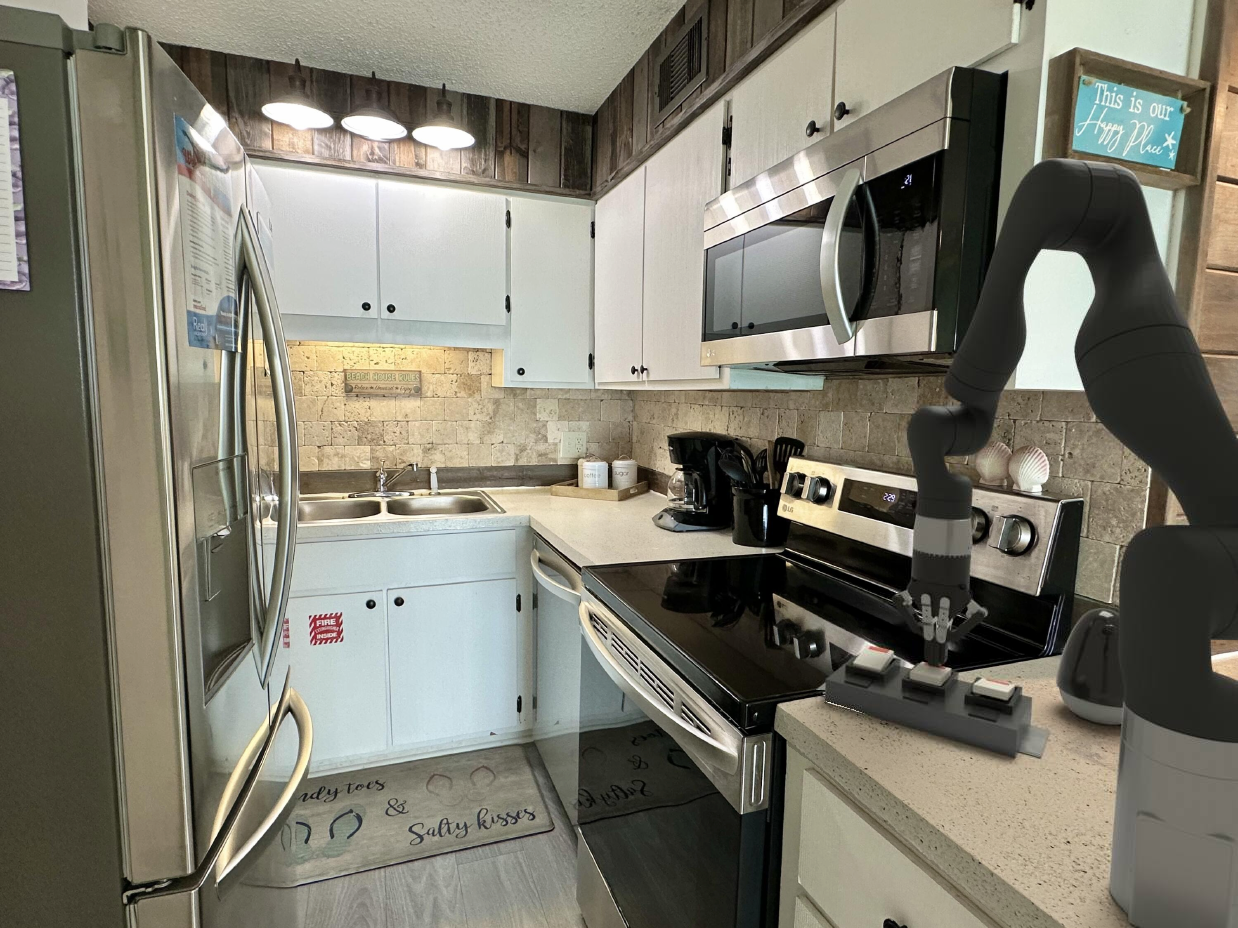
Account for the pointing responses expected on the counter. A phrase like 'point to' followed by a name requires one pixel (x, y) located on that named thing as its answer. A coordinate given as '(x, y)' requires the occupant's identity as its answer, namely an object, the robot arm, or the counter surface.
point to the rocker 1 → (874, 658)
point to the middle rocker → (930, 674)
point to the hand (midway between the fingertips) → (935, 664)
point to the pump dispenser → (1093, 669)
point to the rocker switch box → (939, 707)
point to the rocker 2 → (994, 688)
